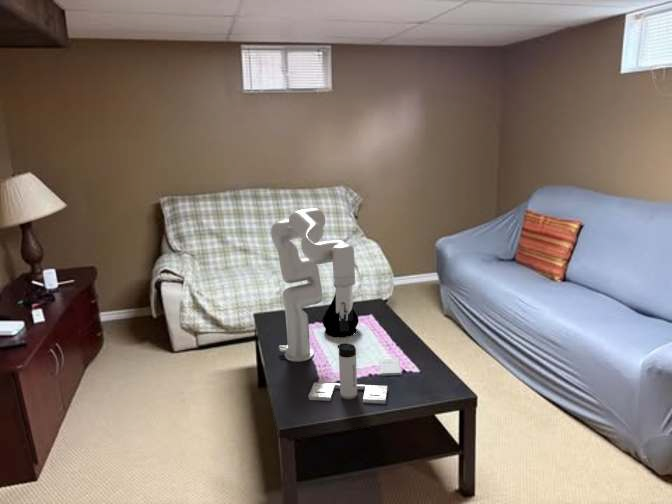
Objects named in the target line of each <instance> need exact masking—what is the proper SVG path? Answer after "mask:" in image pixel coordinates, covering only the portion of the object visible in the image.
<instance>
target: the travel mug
mask: <svg viewBox="0 0 672 504" xmlns="http://www.w3.org/2000/svg"><path fill="white" fill-rule="evenodd" d="M337 349H338V364H339V365H338V368H339V384H340V389H339V392H340V398H342V399H344V400H353V399H355V398H356V397H357V396H358V389H357V385H358V379H357V378H358V376H357V374H358V373H357V369H358V368H357V351H356V350H357V349H356V347H355V345H354V344H351V343H339V344H338V345H337Z"/></svg>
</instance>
